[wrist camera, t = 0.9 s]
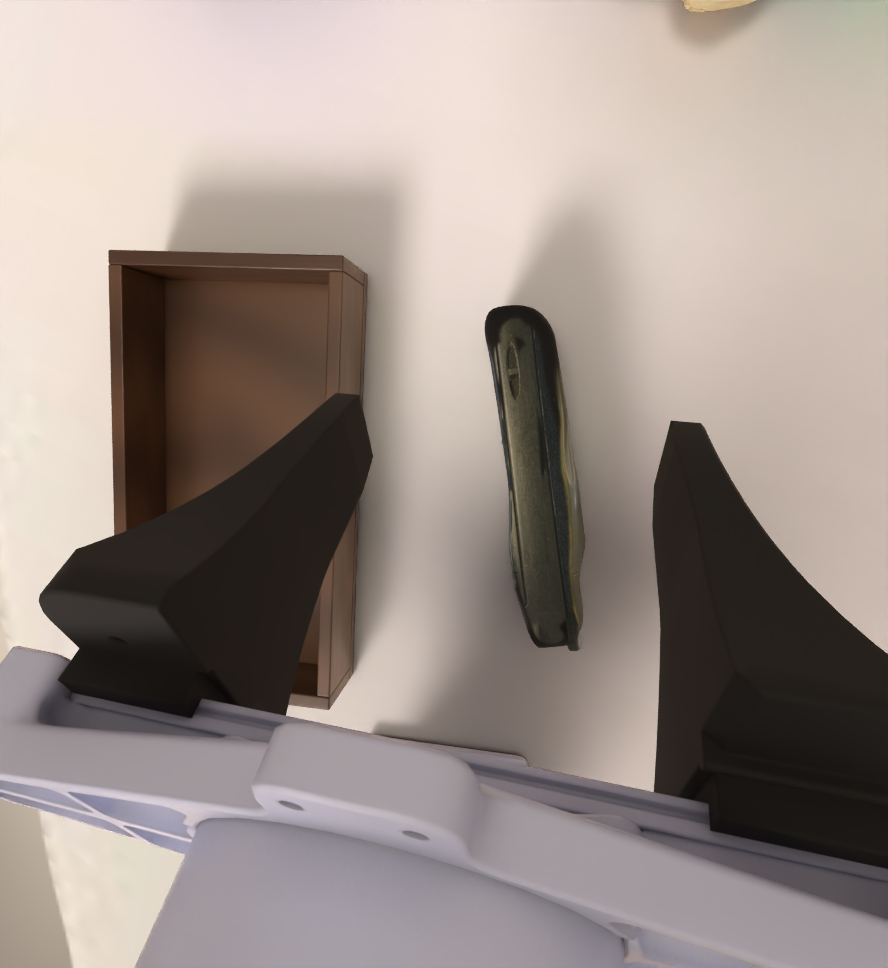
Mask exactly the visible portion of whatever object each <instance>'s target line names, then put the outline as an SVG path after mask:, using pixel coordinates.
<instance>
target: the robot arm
mask: <svg viewBox="0 0 888 968" xmlns="http://www.w3.org/2000/svg"><path fill="white" fill-rule="evenodd" d="M372 458H373V454H372V450H371V445H370V441H369V436H368V432H367V427H366V423H365V418H364V414H363V409H362V405H361V400H360V396H359V395H356V394H344V393H335V394H334V395H333V396H331V397H330V398H329V399H328V400H327V401H325V402H324V403H323V404H322V405H321V406H319V407H318V408H317V409H316V410H315V411H314V412H313V413H311V414H310V415H309V416H308V417H307V418H306V419H304V420H303V421H302V422H301V423H300V424H299V425H297V426H296V427H295V428H294V429H293V430H291V431H290V432H289V433H288V434H287V435H285V436H284V437H283V438H282V439H281V440H279V441H278V442H277V443H276V444H274V445H273V446H272V447H270V448H269V449H268V450H267V451H265V452H264V453H263V454H261V455H260V456H259V457H257V458H256V459H255V460H253V461H252V462H251V463H249V464H248V465H247V466H245V467H244V468H242V469H241V470H240V471H238V472H237V473H235V474H234V475H232V476H231V477H229V478H228V479H226V480H224V481H223V482H221V483H220V484H218V485H216V486H215V487H213V488H212V489H210V490H208V491H207V492H205V493H203V494H201V495H199V496H197V497H196V498H194V499H192V500H190V501H188V502H186V503H185V504H183V505H181V506H179V507H177V508H175V509H173V510H171V511H169V512H167V513H165V514H163V515H161V516H159V517H157V518H155V519H153V520H150V521H148V522H146V523H144V524H141V525H139V526H137V527H134V528H132V529H130V530H127V531H125V532H122V533H120V534H117V535H114V536H112V537H109V538H106V539H103V540H101V541H98V542H95V543H93V544H90V545H87V546H84V547H81V548H78V549H76V550H75V552H74V553H73V554H72V555H71V556H70V558H69V559H68V560H67V561H66V563H65V564H64V565H63V566H62V568H61V569H60V570H59V571H58V573H57V574H56V575H55V576H54V578H53V579H52V580H51V581H50V583H49V584H48V585H47V586H46V588H45V589H44V590H43V591H42V593H41V594H40V597H39V603H40V606H41V608H42V610H43V612H44V613H45V615H46V616H47V617H48V618H49V619H50V620H51V621H52V622H53V623H54V624H55V625H56V626H57V627H58V628H59V629H60V630H61V631H62V632H63V633H64V634H65V635H66V636H67V637H68V638H70V639H71V640H72V641H73V642H74V643H75V644H76V645H77V646H78V647H79V648H80V649H79V650H78V651H77V653H76V654H75V656H74V657H73V659H72V660H69V659H68V658H66V657H63V656H61V655H58V654H55V653H50V652H45V651H41V650H36V649H31V648H26V647H21V646H16V647H13V648H12V649H11V651H10V652H9V653H8V655H7V656H6V657H5V659H4V660H3V661H2V662H1V664H0V798H1V799H3V800H5V801H8V802H12V803H16V804H20V805H23V806H26V807H30V808H34V809H37V810H41V811H44V812H48V813H51V814H54V815H58V816H61V817H64V818H68V819H71V820H75V821H78V822H81V823H84V824H87V825H91V826H94V827H97V828H100V829H103V830H107V831H110V832H113V833H116V834H119V835H122V836H125V837H129V838H132V839H135V840H138V841H141V842H144V843H147V844H150V845H154V846H157V847H160V848H163V849H166V850H169V851H172V852H175V853H179V854H182V855H185V857H184V859H183V861H182V863H181V866H180V868H179V870H178V872H177V875H176V877H175V879H174V881H173V883H172V886H171V888H170V890H169V892H168V895H167V897H166V899H165V901H164V903H163V906H162V908H161V910H160V912H159V914H158V917H157V919H156V921H155V923H154V926H153V928H152V930H151V932H150V934H149V937H148V939H147V941H146V943H145V945H144V948H143V950H142V952H141V954H140V957H139V959H138V961H137V963H136V965H135V968H888V654H887V653H886V652H884V651H883V650H882V649H881V648H879V647H878V646H877V645H875V644H874V643H873V642H872V641H871V640H869V639H868V638H867V637H866V636H865V635H864V634H862V633H861V632H860V631H859V630H858V629H857V628H856V627H854V626H853V625H852V624H851V623H850V622H849V621H848V620H846V619H845V618H844V617H843V616H842V615H841V614H840V613H839V612H838V611H837V610H836V609H835V608H834V607H833V606H832V605H831V604H830V603H829V602H827V601H826V600H825V599H824V598H823V597H822V596H821V595H820V594H819V593H818V592H817V591H816V590H815V589H814V588H813V587H812V586H811V585H810V584H809V583H808V582H807V581H806V579H805V578H804V577H803V576H802V575H801V574H800V573H799V572H798V571H797V570H796V568H795V567H794V566H793V565H792V564H791V563H790V562H789V560H788V559H787V558H786V557H785V556H784V554H783V553H782V552H781V551H780V550H779V548H778V547H777V546H776V545H775V543H774V542H773V541H772V540H771V538H770V537H769V536H768V534H767V533H766V532H765V530H764V529H763V527H762V526H761V525H760V523H759V522H758V520H757V519H756V518H755V516H754V515H753V513H752V512H751V510H750V509H749V507H748V506H747V504H746V503H745V501H744V500H743V498H742V496H741V495H740V493H739V491H738V490H737V488H736V487H735V485H734V483H733V482H732V480H731V478H730V477H729V475H728V473H727V471H726V470H725V468H724V466H723V464H722V462H721V460H720V459H719V457H718V455H717V453H716V451H715V449H714V447H713V445H712V443H711V441H710V439H709V436H708V434H707V432H706V430H705V428H704V427H703V425H702V424H701V423H692V422H680V421H671V422H670V426H669V430H668V434H667V438H666V442H665V446H664V449H663V453H662V457H661V461H660V465H659V469H658V473H657V477H656V480H655V484H654V499H653V538H654V550H655V562H656V573H657V584H658V595H659V607H660V627H661V633H660V675H659V705H658V727H657V749H656V766H655V783H654V792H650V791H645V790H640V789H636V788H631V787H626V786H621V785H616V784H612V783H607V782H602V781H597V780H592V779H587V778H583V777H578V776H573V775H568V774H563V773H559V772H554V771H549V770H544V769H539V768H534V767H530V766H528V763H527V761H526V760H525V759H524V758H523V757H521V756H518V755H511V754H503V753H496V752H489V751H481V750H474V749H467V748H460V747H452V746H445V745H438V744H430V743H423V742H416V741H409V740H401V739H395V738H390V737H385V736H380V735H375V734H371V733H366V732H361V731H356V730H351V729H347V728H342V727H337V726H332V725H327V724H322V723H318V722H313V721H308V720H303V719H298V718H294V717H289V716H286V712H287V708H288V703H289V699H290V695H291V691H292V686H293V682H294V678H295V674H296V671H297V667H298V663H299V660H300V656H301V652H302V648H303V645H304V641H305V638H306V634H307V631H308V628H309V624H310V621H311V618H312V614H313V611H314V608H315V605H316V602H317V599H318V596H319V592H320V589H321V586H322V583H323V580H324V577H325V575H326V572H327V570H328V567H329V565H330V562H331V560H332V558H333V556H334V554H335V551H336V549H337V547H338V545H339V543H340V540H341V538H342V536H343V534H344V532H345V530H346V527H347V525H348V523H349V521H350V519H351V516H352V514H353V512H354V510H355V508H356V505H357V503H358V501H359V499H360V496H361V494H362V492H363V489H364V485H365V482H366V479H367V476H368V472H369V469H370V465H371V461H372Z"/></svg>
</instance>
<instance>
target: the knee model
mask: <svg viewBox="0 0 888 968" xmlns="http://www.w3.org/2000/svg"><path fill="white" fill-rule="evenodd" d="M682 1H683V3H684V5H685V9H686V8H688V11H690V12H691V11H692V12H693V11H696V12H698V13H700V12H704V11H717V10H721V9H728V8H733V7H738V6H743V5H745V4H749V3H752V2H753V1H755V0H682Z"/></svg>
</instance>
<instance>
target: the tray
mask: <svg viewBox="0 0 888 968" xmlns="http://www.w3.org/2000/svg"><path fill="white" fill-rule="evenodd" d="M109 264H110V265H109V306H110V352H111V398H112V444H113V490H114V535H117V534H120V533H122V532H125V531H127V530H130V529H132V528H134V527H137V526H139V525H141V524H144V523H146V522H148V521H150V520H153V519H155V518H157V517H159V516H161V515H163V514H165V513H167V512H169V511H171V510H173V509H175V508H177V507H179V506H181V505H183V504H185V503H186V502H188V501H190V500H192V499H194V498H196V497H197V496H199V495H201V494H203V493H205V492H207V491H208V490H210V489H212V488H213V487H215V486H216V485H218V484H220V483H221V482H223V481H224V480H226V479H228V478H229V477H231V476H232V475H234V474H235V473H237V472H238V471H240V470H241V469H242V468H244V467H245V466H247V465H248V464H249V463H251V462H252V461H253V460H255V459H256V458H257V457H259V456H260V455H261V454H263V453H264V452H265V451H267V450H268V449H269V448H270V447H272V446H273V445H274V444H276V443H277V442H278V441H279V440H281V439H282V438H283V437H284V436H285V435H287V434H288V433H289V432H290V431H291V430H293V429H294V428H295V427H296V426H297V425H299V424H300V423H301V422H302V421H303V420H304V419H306V418H307V417H308V416H309V415H310V414H311V413H313V412H314V411H315V410H316V409H317V408H318V407H319V406H321V405H322V404H323V403H324V402H325V401H327V400H328V399H329V398H330V397H331V396H333V395H334V394H335V393H344V394H356V395H359V396H360V400H361V405H362V402H363V374H364V347H365V320H366V293H367V274H366V273H365V272H363V271H362V270H361V269H359V268H358V267H357V266H355V265H354V264H353V263H352V262H350V261H349V260H348V259H347V258H345V257H344V256H341V255H300V254H259V253H218V252H177V251H136V250H109ZM358 510H359V501H358V503H357V505H356V508H355V510H354V512H353V514H352V516H351V519H350V521H349V523H348V525H347V527H346V530H345V532H344V534H343V536H342V538H341V540H340V543H339V545H338V547H337V549H336V551H335V554H334V556H333V558H332V560H331V562H330V565H329V567H328V570H327V572H326V575H325V577H324V580H323V583H322V586H321V589H320V592H319V596H318V599H317V602H316V605H315V608H314V611H313V614H312V618H311V621H310V624H309V628H308V631H307V634H306V638H305V641H304V645H303V648H302V652H301V656H300V660H299V663H298V667H297V671H296V674H295V678H294V682H293V686H292V691H291V695H290V699H289V703H288V705H295V706H302V707H310V708H317V709H325V710H329V709H330V708H331V706H332V705H333V703H334V702H335V700H336V699H337V697H338V696H339V694H340V693H341V691H342V690H343V688H344V687H345V685H346V684H347V682H348V681H349V679H350V678H351V676H352V672H353V645H354V618H355V591H356V564H357V537H358Z"/></svg>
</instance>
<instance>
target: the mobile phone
mask: <svg viewBox="0 0 888 968" xmlns="http://www.w3.org/2000/svg"><path fill="white" fill-rule="evenodd" d="M485 336H486V342H487V347H488V351H489V356H490V361H491V367H492V374H493V380H494V386H495V393H496V400H497V406H498V413H499V420H500V427H501V434H502V444H503V448H504V455H505V462H506V469H507V477H508V487H509V553H510V563H511V571H512V577H513V583H514V588H515V591H516V595H517V598H518V601H519V604H520V607H521V610H522V613H523V616H524V620H525V623H526V626H527V629H528V632H529V635H530V637H531V639H532V641H533V643H534V644H535V645H536V646H537V647H540V648H545V647H557V646H565V645H567V646H568V649H569V650H570V651H577V650H580V649H581V645H582V643H581V638H580V630H581V626H582V622H583V607H582V599H581V592H580V582H579V576H580V567H581V562H582V558H583V553H584V547H585V534H584V526H583V519H582V512H581V504H580V496H579V488H578V481H577V474H576V469H575V463H574V457H573V451H572V445H571V438H570V431H569V424H568V417H567V410H566V403H565V397H564V391H563V384H562V378H561V371H560V365H559V359H558V352H557V346H556V340H555V336H554V333H553V330H552V328H551V326H550V324H549V323H548V321H547V320H546V319H545V318H544V316H543V315H542V314H540V313H539V312H538V311H537V310H535V309H533V308H530V307H526V306H520V305H510V306H502V307H497V308H494V309H492V310H491V311H490V312H489V313H488V315H487V317H486V321H485Z"/></svg>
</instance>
